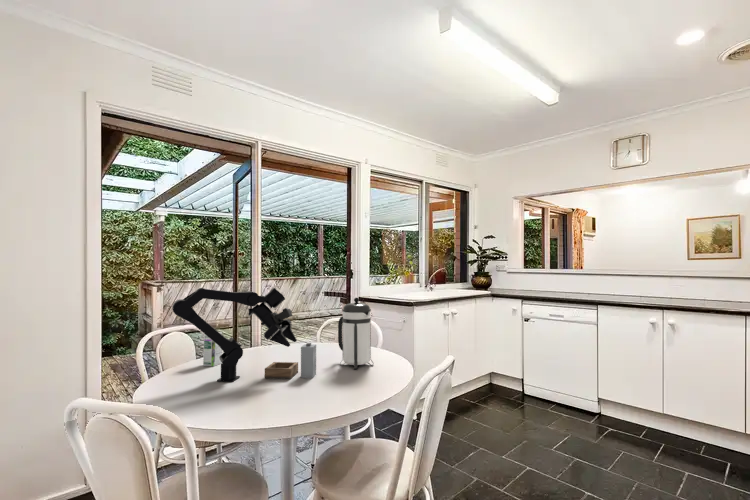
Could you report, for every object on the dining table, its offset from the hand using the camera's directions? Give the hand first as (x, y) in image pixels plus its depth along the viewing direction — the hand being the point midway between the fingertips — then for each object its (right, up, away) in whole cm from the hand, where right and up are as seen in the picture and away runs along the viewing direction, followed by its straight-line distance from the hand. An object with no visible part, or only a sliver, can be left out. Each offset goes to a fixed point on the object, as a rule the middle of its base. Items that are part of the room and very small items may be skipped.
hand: (292, 343), depth 156 cm
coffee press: (+24, -14, +15) cm, 32 cm away
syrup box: (-40, -14, +18) cm, 46 cm away
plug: (+7, -13, -1) cm, 14 cm away
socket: (-4, -13, 0) cm, 14 cm away
